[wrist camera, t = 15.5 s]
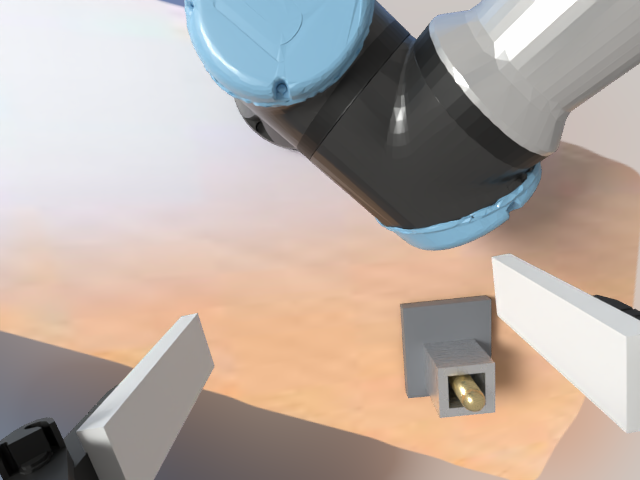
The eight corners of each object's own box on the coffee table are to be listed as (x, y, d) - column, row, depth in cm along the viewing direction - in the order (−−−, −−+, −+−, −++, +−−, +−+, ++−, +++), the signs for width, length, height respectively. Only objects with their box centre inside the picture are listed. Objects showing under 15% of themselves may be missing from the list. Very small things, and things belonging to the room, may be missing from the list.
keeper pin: (438, 355, 48) (465, 397, 39) (458, 353, 48) (489, 395, 39) (439, 372, 48) (465, 418, 39) (458, 370, 48) (489, 416, 39)
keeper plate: (400, 304, 48) (402, 308, 46) (485, 295, 47) (491, 299, 46) (405, 391, 50) (408, 398, 49) (486, 383, 50) (491, 390, 49)
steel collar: (422, 343, 47) (437, 368, 41) (473, 338, 47) (495, 362, 41) (425, 387, 49) (439, 417, 43) (473, 382, 49) (495, 412, 43)
